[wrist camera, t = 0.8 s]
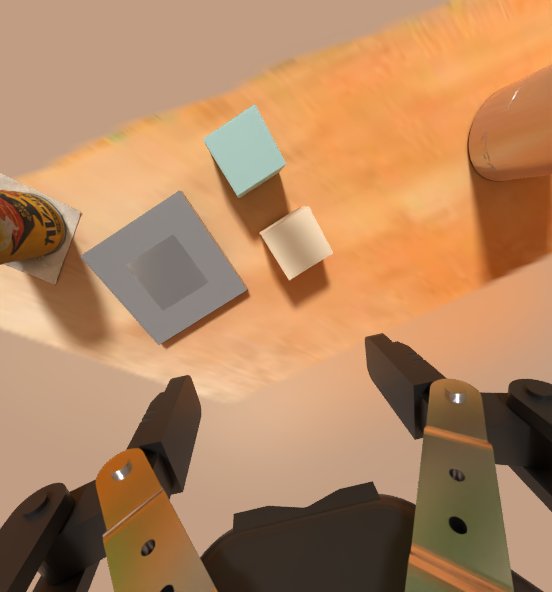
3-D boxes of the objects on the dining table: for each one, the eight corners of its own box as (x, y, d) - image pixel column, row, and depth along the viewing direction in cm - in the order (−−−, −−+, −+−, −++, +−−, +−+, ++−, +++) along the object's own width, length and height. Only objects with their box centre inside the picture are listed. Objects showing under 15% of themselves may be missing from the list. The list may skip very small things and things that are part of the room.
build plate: (182, 191, 27) (179, 190, 25) (246, 287, 30) (247, 289, 29) (87, 254, 27) (80, 256, 26) (161, 340, 31) (158, 345, 30)
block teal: (252, 124, 26) (254, 104, 21) (279, 172, 27) (286, 163, 22) (210, 152, 26) (202, 139, 21) (238, 198, 28) (237, 195, 23)
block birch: (297, 207, 28) (308, 206, 24) (319, 246, 30) (333, 252, 25) (258, 232, 29) (261, 235, 24) (282, 270, 30) (289, 280, 26)
